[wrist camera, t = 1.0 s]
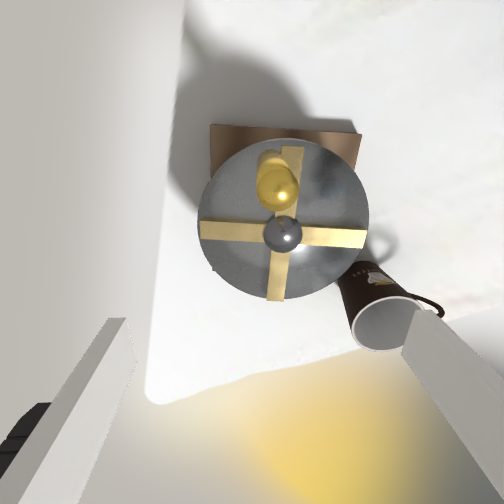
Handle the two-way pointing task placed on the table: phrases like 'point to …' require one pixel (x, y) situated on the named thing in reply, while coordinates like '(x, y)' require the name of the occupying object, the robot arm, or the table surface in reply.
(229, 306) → the table surface
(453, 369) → the robot arm
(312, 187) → the handwheel
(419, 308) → the coffee mug
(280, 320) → the table surface
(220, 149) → the wheel stand
